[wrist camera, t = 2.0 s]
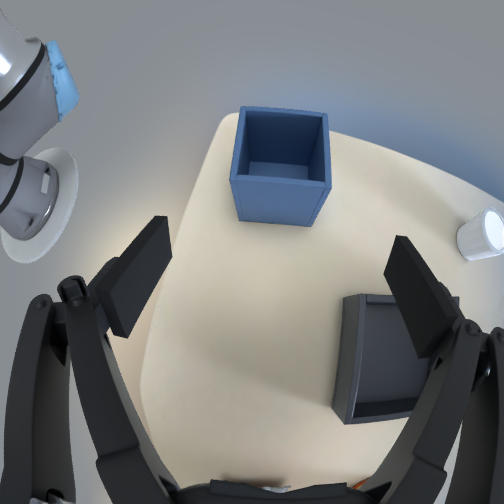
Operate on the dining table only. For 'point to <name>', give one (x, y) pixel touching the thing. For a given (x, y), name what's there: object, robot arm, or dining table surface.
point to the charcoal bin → (377, 362)
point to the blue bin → (280, 165)
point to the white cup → (482, 235)
